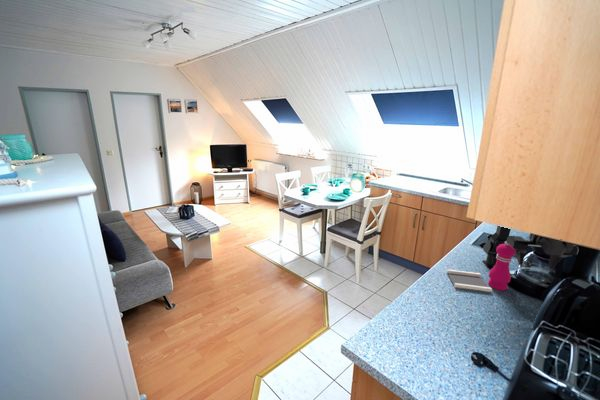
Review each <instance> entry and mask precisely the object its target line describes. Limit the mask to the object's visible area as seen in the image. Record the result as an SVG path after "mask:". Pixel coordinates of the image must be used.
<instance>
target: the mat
mask: <svg viewBox="0 0 600 400" xmlns="http://www.w3.org/2000/svg"><path fill="white" fill-rule="evenodd" d="M446 274H447V276H448V279H449V280H450V283H451V284H452V286H453V287H454V289H458V290H465V291H466V290H467V291H474V292H479V293H486V294H489V293H490V294H491V293H492V291H493V288H492V287H490V286H489V285H488V284H486V282H485V281H484V279H483V278H482V274H481V273H480V272H472V271H462V270H455V269H454V270H453V269H447V270H446ZM487 285H488V286H487Z"/></svg>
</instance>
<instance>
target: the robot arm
mask: <svg viewBox="0 0 600 400" xmlns="http://www.w3.org/2000/svg"><path fill="white" fill-rule="evenodd" d="M511 229H512V228H511ZM511 229H508V228H504V227H500V226H498V225H497V227H496V230H495V233H493V234H492V235H490V237H489V240H488V241H487V242H486V243H485V244H484V245H483V247H482V248H483V249H482V250H483V252H484V253H485V254H486V259H485V260H482V263H483V264H484V265H485V266H486V268H488V269H492V268H493V267H494V266H495V264H496V262H497V258H496V256H497V254H498V253H497V252H496V249H497V247H498V246H499V245H500V244H505V241H506V242H507V243H508V244H509V245H510V246H511V247H513V248H514V250H515V255H516V259H517V262H518V265H519V266H521V267H522V265H523V263H524V259H525V254H526V253H527V252H528V250H527V249H528V247H534V248H542V249H543V252H544V253H545V254H547V255H550V257H549V261H548V269H550V270H552V269H554V268H555V266H557V265H558V264H559V262H560V261H561V260H562V259H564V258H567V257H572V256H575V255H576V256H577V255H578V253H579V251H580V250H579V247H578V246H577V245H575V244H574V243H573V244H574V245H573V244H569V243H565V242H561V241H556V240H552V239H548V238H544V237H540V236H536V235H533V234H532V235H529V237H528V238H529V239H530V240H529V239H528V240H526V239H525V238H523V236H517V235H510V234H511Z"/></svg>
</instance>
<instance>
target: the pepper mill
mask: <svg viewBox="0 0 600 400" xmlns="http://www.w3.org/2000/svg"><path fill="white" fill-rule="evenodd" d="M496 252H497V253H498V254H497V256H496V258H497V262H496V264H495V266H494V267H493V268H490V270H489V272H488V277H489V279H488V283H487V285H488V287H490V288H492V289H494V290H497V291H503V292H504V291H507V289H508V284H509V283H510V282H511V279H512V278H511V272H510V263H511V262H512V260H513V257H514V256H515V255H516V252H515V250H514V248H513V247H511V246H510V245H509V244H508V243H507V242H506V241H505V244H500V245H499V246H498V247H497V249H496Z"/></svg>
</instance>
